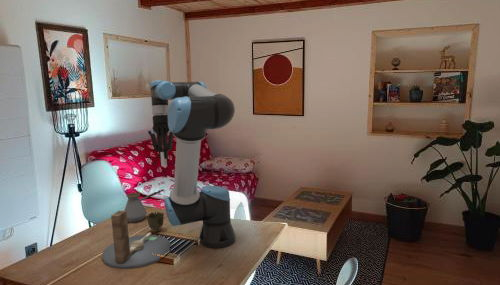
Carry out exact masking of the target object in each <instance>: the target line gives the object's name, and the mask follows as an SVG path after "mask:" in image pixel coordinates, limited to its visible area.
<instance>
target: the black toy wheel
mask: <svg viewBox="0 0 500 285" xmlns="http://www.w3.org/2000/svg"><path fill="white" fill-rule="evenodd" d="M146 218H147V224H148V227H149V228H150V229H151V230H152V232H153V233H158V232H160V231H161V228H162V227H163V225H164V213H163V212H159V211H157V212H156V211H155V212H151V213H148V215H146Z"/></svg>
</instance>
